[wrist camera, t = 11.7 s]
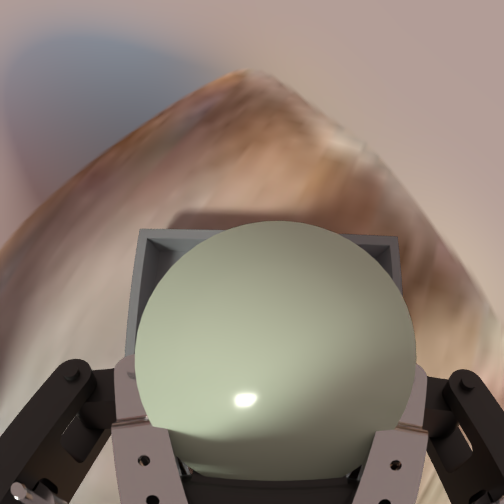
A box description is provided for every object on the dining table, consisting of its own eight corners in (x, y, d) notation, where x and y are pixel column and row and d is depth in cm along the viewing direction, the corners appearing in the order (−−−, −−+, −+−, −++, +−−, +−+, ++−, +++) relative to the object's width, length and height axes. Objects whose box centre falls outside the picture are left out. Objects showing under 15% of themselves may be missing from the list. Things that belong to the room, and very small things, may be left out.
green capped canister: (209, 407, 14) (132, 475, 5) (216, 298, 16) (152, 217, 7) (322, 411, 14) (403, 481, 5) (326, 302, 16) (407, 227, 6)
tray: (141, 441, 17) (123, 453, 14) (154, 244, 21) (139, 228, 18) (378, 449, 16) (394, 462, 13) (381, 251, 20) (397, 236, 18)
